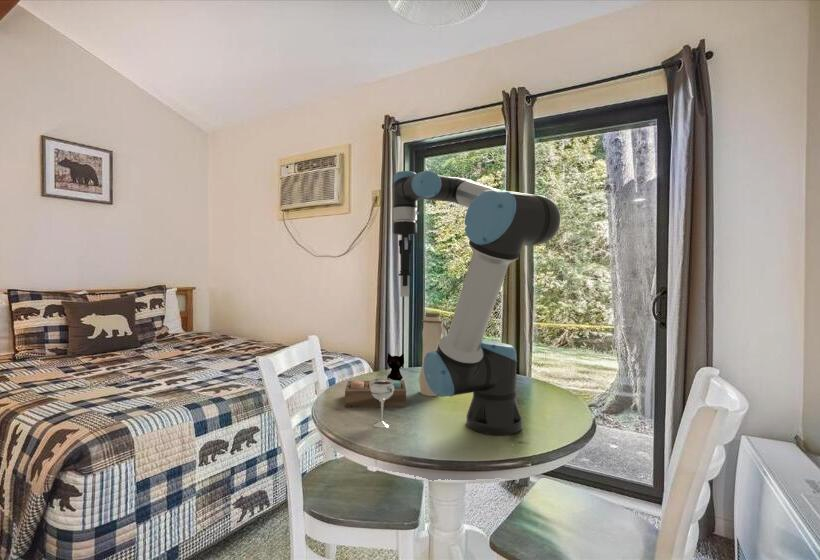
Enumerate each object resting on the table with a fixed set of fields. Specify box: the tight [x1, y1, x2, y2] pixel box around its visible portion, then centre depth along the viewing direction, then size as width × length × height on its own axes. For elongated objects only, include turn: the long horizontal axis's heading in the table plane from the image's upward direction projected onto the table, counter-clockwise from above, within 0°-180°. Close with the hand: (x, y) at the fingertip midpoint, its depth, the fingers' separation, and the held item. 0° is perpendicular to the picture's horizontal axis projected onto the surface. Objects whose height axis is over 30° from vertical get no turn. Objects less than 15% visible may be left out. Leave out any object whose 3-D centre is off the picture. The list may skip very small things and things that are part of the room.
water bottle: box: [418, 311, 449, 397], centre depth 148 cm, size 10×9×28 cm
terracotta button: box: [351, 380, 364, 388], centre depth 138 cm, size 4×4×5 cm
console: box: [344, 379, 407, 408], centre depth 139 cm, size 12×19×5 cm, turn 94°
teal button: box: [393, 381, 401, 388], centre depth 139 cm, size 4×4×5 cm
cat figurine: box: [386, 352, 405, 380], centre depth 157 cm, size 7×7×12 cm
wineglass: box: [369, 377, 394, 429], centre depth 118 cm, size 7×7×12 cm
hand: (404, 296), depth 135 cm, fingers closed
